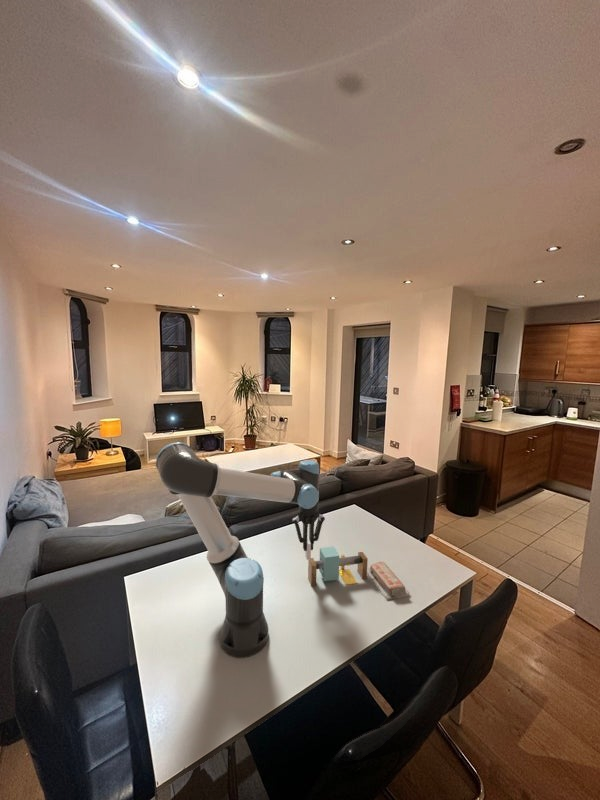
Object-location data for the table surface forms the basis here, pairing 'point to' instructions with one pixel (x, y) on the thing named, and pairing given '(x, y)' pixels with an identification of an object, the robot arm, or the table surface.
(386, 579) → the packaged product
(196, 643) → the table surface
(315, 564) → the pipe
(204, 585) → the table surface
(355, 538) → the table surface
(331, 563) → the collar
